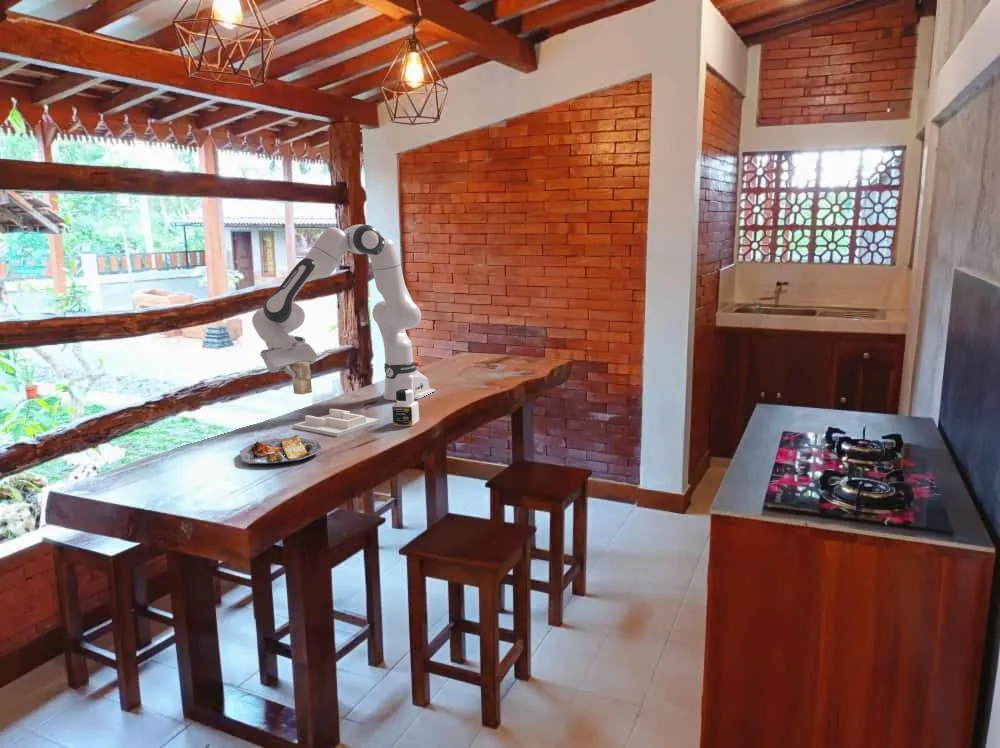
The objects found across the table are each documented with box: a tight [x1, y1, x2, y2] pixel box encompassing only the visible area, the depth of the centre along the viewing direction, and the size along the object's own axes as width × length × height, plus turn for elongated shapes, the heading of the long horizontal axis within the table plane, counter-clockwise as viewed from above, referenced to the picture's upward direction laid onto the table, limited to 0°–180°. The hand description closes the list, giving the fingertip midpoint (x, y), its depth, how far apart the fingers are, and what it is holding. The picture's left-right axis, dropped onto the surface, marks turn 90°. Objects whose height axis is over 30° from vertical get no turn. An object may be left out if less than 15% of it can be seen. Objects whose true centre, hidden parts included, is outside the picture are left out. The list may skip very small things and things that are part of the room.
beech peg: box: [291, 362, 313, 396], centre depth 265 cm, size 4×4×11 cm
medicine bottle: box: [392, 389, 420, 427], centre depth 256 cm, size 7×7×12 cm
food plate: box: [239, 434, 321, 465], centre depth 225 cm, size 25×23×4 cm
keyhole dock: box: [292, 408, 381, 438], centre depth 257 cm, size 20×22×4 cm
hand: (302, 375), depth 264 cm, fingers closed on beech peg, 4 cm apart
